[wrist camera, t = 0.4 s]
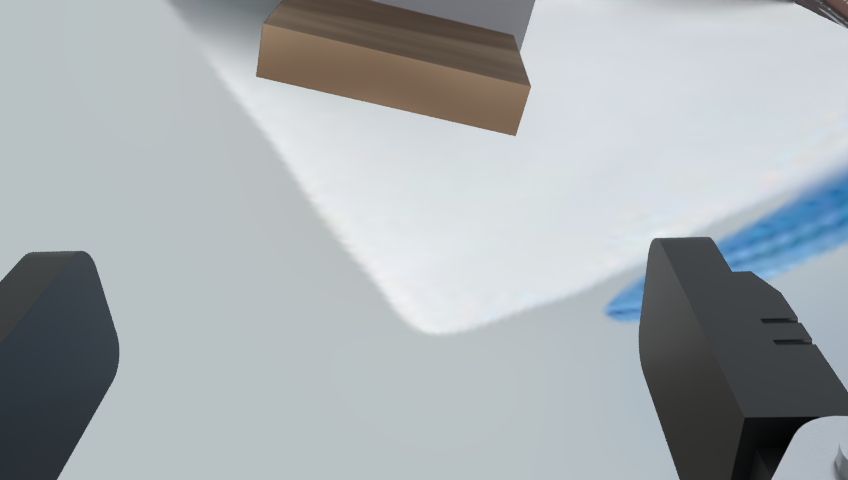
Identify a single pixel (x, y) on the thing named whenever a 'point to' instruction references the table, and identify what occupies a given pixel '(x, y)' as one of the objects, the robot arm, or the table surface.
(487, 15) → the mat
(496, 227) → the table surface
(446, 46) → the wooden block
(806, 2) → the box
